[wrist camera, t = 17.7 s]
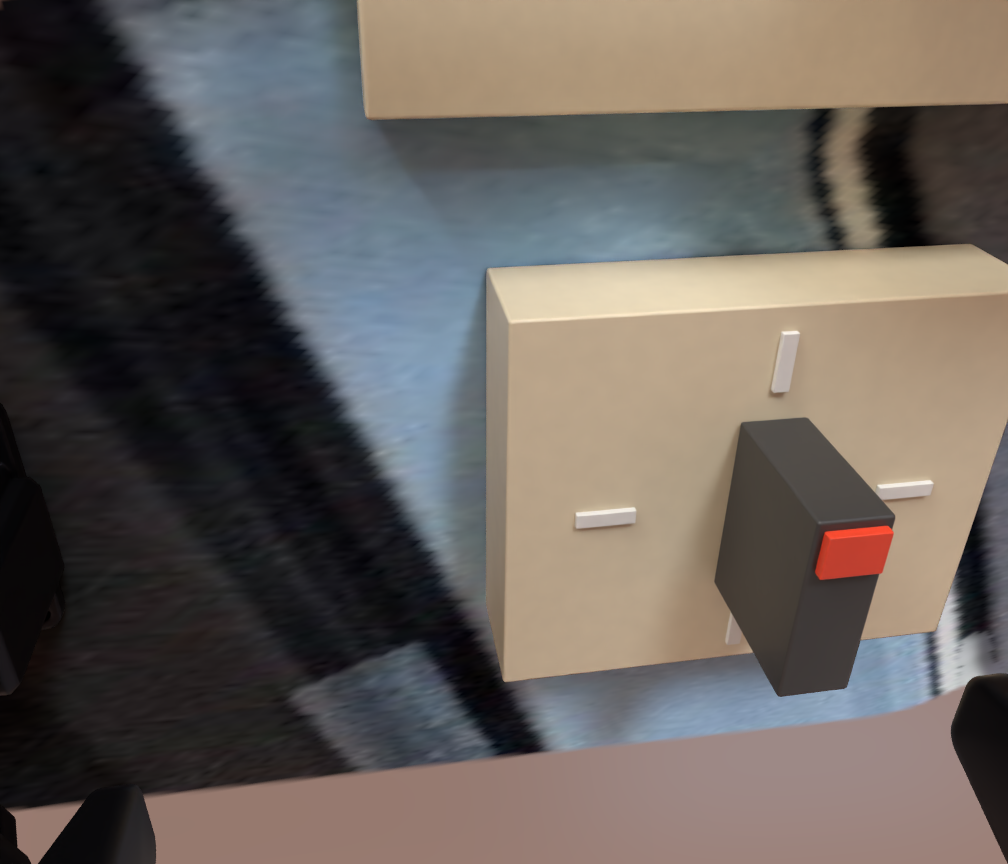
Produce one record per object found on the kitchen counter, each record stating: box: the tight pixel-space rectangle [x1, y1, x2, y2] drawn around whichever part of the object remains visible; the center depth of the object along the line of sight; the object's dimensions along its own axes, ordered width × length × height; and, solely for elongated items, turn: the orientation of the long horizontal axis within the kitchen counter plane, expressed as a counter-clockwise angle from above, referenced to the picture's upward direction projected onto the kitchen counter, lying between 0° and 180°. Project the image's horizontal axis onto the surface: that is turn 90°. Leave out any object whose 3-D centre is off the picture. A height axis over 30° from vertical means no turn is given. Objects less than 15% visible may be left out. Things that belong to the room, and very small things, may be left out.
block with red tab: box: [714, 417, 895, 697], centre depth 20 cm, size 5×2×4 cm, turn 179°
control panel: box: [486, 244, 1008, 682], centre depth 23 cm, size 12×10×3 cm
